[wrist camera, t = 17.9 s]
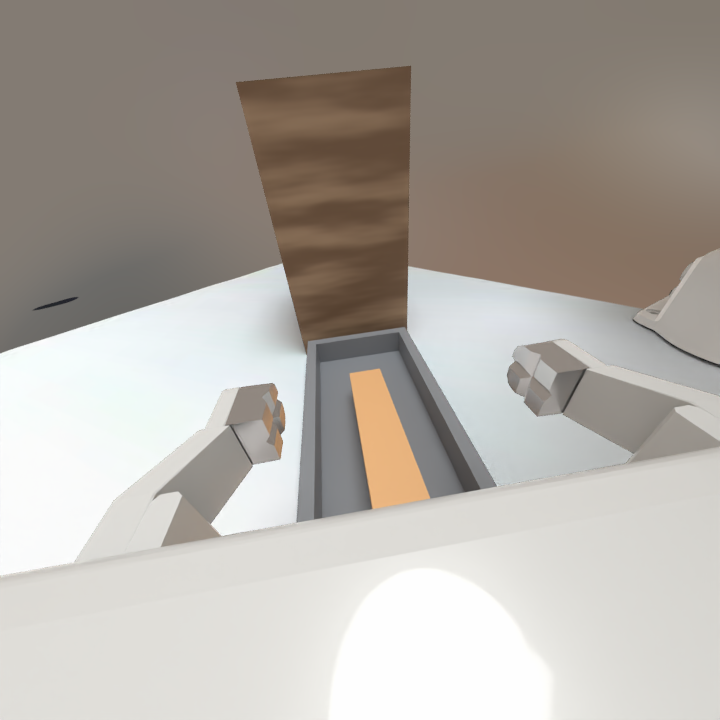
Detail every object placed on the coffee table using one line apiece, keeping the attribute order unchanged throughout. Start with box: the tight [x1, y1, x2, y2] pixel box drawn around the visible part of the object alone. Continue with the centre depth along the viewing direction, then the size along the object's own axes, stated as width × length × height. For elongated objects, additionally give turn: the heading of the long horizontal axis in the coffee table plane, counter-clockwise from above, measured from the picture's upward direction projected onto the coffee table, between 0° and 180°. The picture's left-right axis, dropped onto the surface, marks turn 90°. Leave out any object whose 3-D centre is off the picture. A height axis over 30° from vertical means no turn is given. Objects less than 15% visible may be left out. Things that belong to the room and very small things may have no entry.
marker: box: [349, 369, 430, 509], centre depth 16 cm, size 22×3×3 cm, turn 7°
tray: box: [297, 327, 497, 523], centre depth 21 cm, size 29×12×4 cm, turn 8°
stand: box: [236, 66, 411, 354], centre depth 35 cm, size 16×14×26 cm
